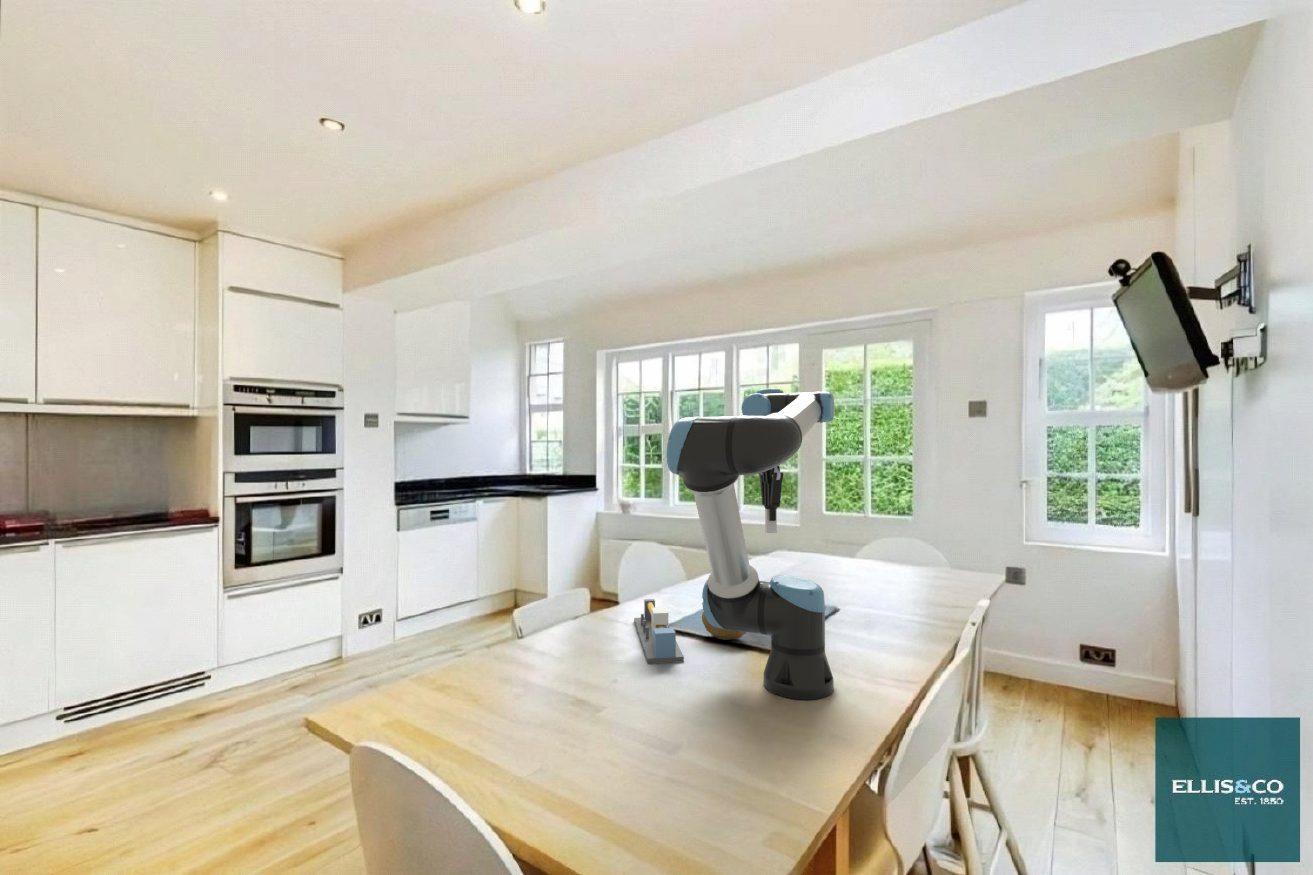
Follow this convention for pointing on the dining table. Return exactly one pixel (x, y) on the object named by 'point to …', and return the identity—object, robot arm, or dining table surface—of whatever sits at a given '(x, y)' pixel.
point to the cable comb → (657, 638)
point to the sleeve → (659, 617)
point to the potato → (721, 631)
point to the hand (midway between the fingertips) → (771, 532)
